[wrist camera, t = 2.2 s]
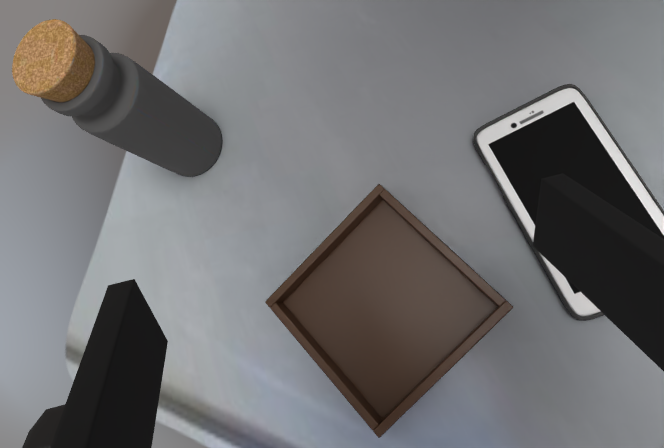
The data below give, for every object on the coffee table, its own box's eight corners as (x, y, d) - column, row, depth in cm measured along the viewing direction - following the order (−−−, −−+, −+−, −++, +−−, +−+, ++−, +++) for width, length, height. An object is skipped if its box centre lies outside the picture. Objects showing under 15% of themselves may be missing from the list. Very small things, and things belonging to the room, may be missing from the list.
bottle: (176, 112, 40) (21, 8, 26) (230, 119, 38) (94, 10, 24) (159, 172, 40) (-9, 98, 26) (213, 181, 38) (64, 108, 24)
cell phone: (574, 325, 28) (578, 325, 27) (468, 136, 32) (468, 131, 31) (699, 275, 26) (708, 274, 25) (570, 84, 30) (574, 77, 30)
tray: (510, 307, 29) (513, 307, 27) (384, 430, 30) (378, 438, 28) (383, 190, 33) (379, 183, 31) (275, 302, 34) (264, 301, 32)
